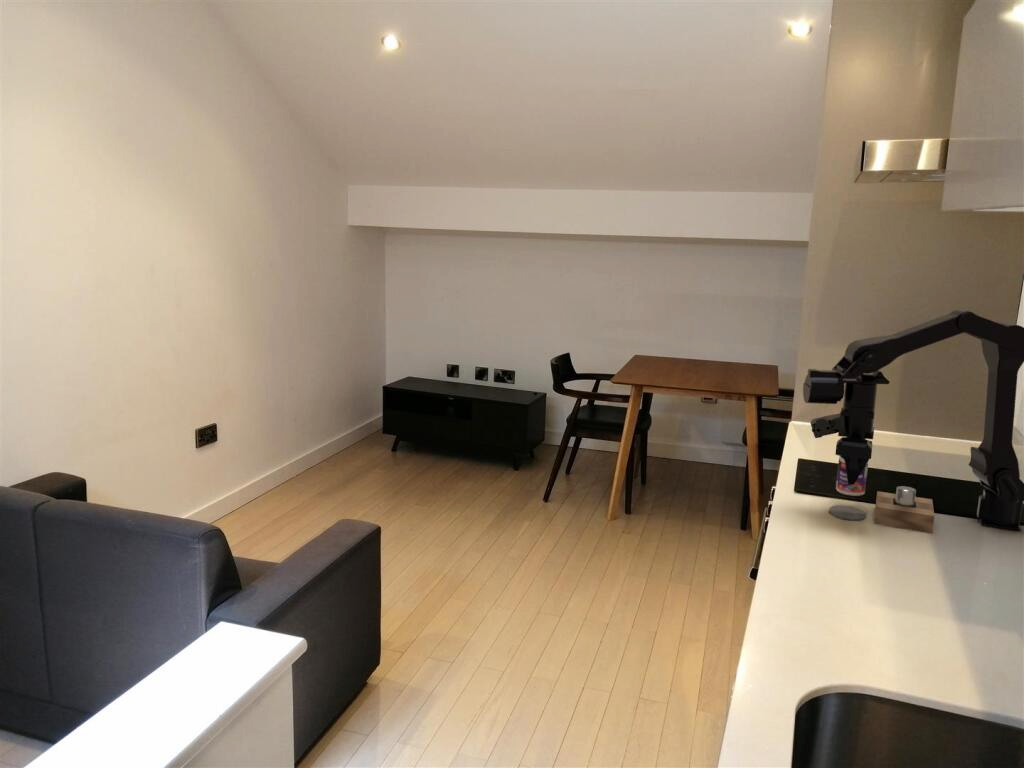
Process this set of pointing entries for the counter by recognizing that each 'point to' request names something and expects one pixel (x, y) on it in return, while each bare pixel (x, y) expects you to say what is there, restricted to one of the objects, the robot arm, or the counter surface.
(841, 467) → the pill bottle
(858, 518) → the coaster
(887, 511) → the socket block
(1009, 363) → the robot arm
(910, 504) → the plug
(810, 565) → the counter surface
